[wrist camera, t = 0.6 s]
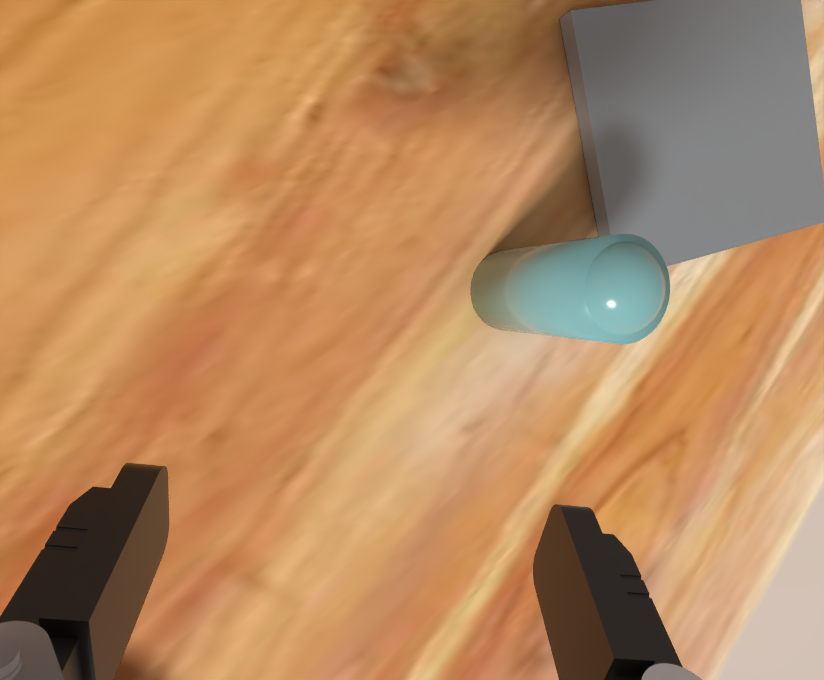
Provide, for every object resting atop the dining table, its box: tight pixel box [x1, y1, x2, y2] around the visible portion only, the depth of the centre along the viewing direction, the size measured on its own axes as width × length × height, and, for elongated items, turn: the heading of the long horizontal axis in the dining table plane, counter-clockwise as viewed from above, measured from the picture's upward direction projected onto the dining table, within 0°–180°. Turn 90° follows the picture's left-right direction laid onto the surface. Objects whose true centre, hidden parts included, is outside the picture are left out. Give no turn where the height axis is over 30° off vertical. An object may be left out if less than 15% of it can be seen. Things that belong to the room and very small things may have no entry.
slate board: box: [560, 0, 824, 266], centre depth 41 cm, size 16×18×1 cm
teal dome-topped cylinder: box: [471, 234, 670, 344], centre depth 32 cm, size 5×5×12 cm
